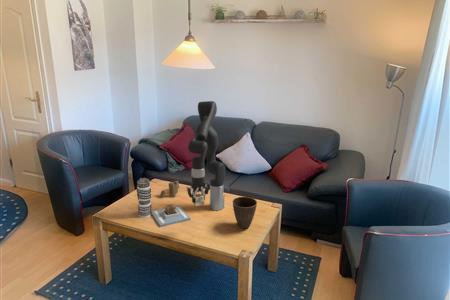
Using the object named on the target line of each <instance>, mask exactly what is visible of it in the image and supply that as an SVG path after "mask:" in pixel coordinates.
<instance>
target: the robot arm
mask: <svg viewBox="0 0 450 300" xmlns="http://www.w3.org/2000/svg"><path fill="white" fill-rule="evenodd" d="M217 111H218V107H217V103H216V101H212V100H209V101H206V100H205V101H199V102H198V104H197V112H198V116H199V120H200V122H199V124H198V125H197V126H196V130H195V133H194V136H193V137H192V138H191V139H190V141H189V143H188V146H187V149H188V151H189V153H190V154H198V156H197V155H196V156H194V157H192V158H191V185H190V186H187V187H186V191H187V195H188V197H189V198H191V202H192V204H193V205H195V196H196V194H198V193H201V194H202V195H203V196H204V201H205V200H206V195H208V194H209V209H210V210H213V211H221V210H222V209H224V208H225V194H224V188H225V187H224V186H225V185H224V182H225V179H226V164H224V163H223V162H221V161H217V160H216V152H217V150H218V147H219V146H220V145H219V144H220V143H219V136H218V133H217V131H216V130H215V128H214V127H213V126H212V123H213V122H214V119H215V117H216V114H217ZM205 159H206V168H207V171H208V173H209V174H210V175H213V176H214V177H215V178H211V179H210V180H209V183H208V182H207V183H205V182H206V170H205Z"/></svg>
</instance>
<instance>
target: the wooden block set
mask: <svg viewBox="0 0 450 300" xmlns="http://www.w3.org/2000/svg"><path fill="white" fill-rule="evenodd" d="M179 189H180V183H179V180H174V181H171V182H169V183H168V191H169V192H168V193H169V197H171V198H173V197H176V194H177V193H178V190H179ZM165 196H166V190H161V191H160V194H159V197H161V198H162V197H165Z"/></svg>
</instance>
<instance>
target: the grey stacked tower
mask: <svg viewBox="0 0 450 300" xmlns="http://www.w3.org/2000/svg"><path fill="white" fill-rule="evenodd" d="M150 182H151V180H150V179H149V178H146V177H140V178H139V179H137V181H136V183H137V186H136V197H137V201H138V203H137V204H138V205H137V209H138V210H137V212H138V213H137V214H138V216H139V217H140V218H148V217H150V216H152V214H151V213H152V211H153V209H152V208H153V207H152V203H151V199H152V189H151V185H150V184H151V183H150Z"/></svg>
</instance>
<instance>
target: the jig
mask: <svg viewBox="0 0 450 300" xmlns="http://www.w3.org/2000/svg"><path fill="white" fill-rule="evenodd" d="M174 206H175V213H176V214H171V215H166V209H165V208H162V209H161V208H160V209H156V210H152V213H151V216H152V217H153V218H154V220H155V221H156V223H157V224H158V226H159V227H165V226H169V225H174V224H179V223H182V222H188V221H191V217H190V215H188V213H187V212H186V211H185V210H184V209H183V208H182V206H180V205H174Z"/></svg>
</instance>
